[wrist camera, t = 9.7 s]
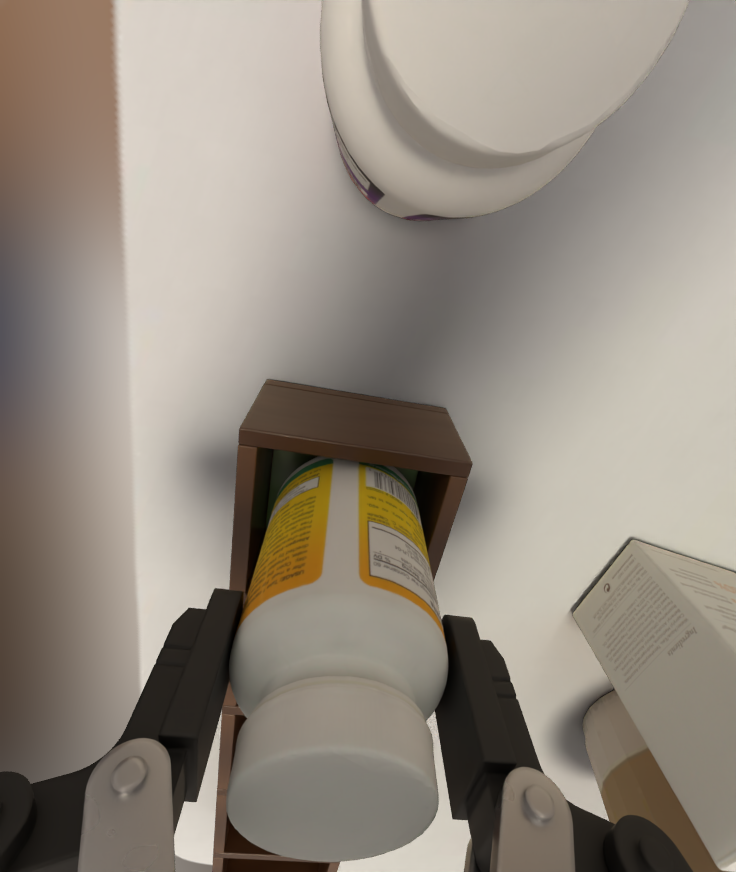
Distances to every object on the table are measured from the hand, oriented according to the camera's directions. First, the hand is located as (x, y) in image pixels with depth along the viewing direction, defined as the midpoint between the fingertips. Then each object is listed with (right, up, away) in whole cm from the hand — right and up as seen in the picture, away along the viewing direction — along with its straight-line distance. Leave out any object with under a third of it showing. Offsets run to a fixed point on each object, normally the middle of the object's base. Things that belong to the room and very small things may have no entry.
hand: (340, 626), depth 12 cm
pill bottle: (+2, +15, +2) cm, 15 cm away
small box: (+16, -3, +12) cm, 20 cm away
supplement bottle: (0, +2, +5) cm, 6 cm away
